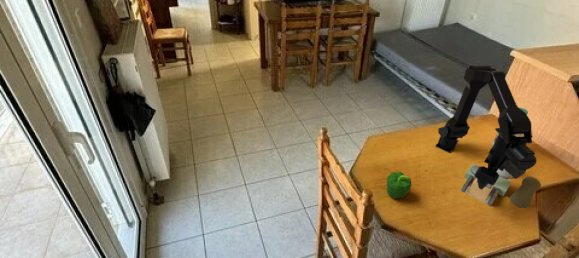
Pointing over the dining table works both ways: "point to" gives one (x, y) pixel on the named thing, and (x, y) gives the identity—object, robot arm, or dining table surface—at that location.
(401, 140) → the dining table surface
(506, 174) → the flask
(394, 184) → the bell pepper
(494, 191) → the bracket
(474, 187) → the tan and grey block
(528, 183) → the olive pepper mill
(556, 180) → the dining table surface
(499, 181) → the sage green knobbed slab
